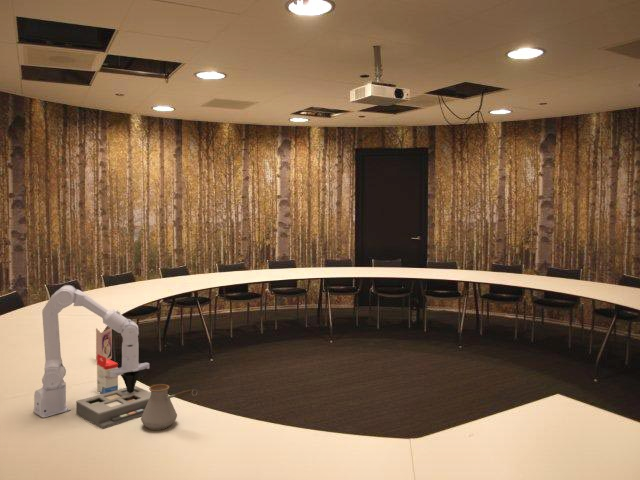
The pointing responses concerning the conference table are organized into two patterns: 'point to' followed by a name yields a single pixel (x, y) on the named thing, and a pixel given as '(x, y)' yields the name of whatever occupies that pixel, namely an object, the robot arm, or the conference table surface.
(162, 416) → the coffee pot
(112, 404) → the key cream
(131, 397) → the key slate
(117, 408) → the grey sorting tray
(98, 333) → the open printed carton
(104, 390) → the ink box
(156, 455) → the conference table surface
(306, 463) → the conference table surface
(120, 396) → the key sand
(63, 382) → the robot arm
